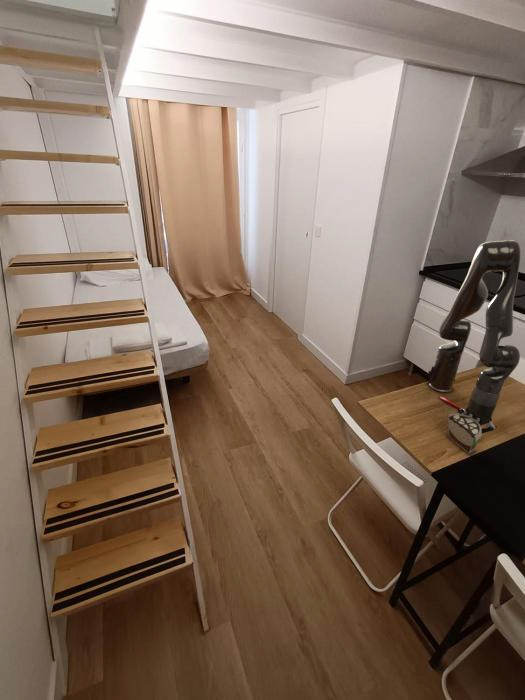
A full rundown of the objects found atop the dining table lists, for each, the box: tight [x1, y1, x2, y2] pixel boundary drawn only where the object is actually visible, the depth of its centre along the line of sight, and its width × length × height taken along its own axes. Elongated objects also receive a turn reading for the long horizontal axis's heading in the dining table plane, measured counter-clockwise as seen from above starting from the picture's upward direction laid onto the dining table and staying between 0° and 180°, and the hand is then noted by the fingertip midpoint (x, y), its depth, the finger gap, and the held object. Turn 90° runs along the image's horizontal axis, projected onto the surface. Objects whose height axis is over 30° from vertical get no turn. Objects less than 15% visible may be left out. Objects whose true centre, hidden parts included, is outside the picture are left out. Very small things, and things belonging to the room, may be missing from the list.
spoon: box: [439, 396, 463, 410], centre depth 139 cm, size 14×4×1 cm, turn 29°
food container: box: [446, 413, 483, 455], centre depth 117 cm, size 12×6×10 cm, turn 17°
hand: (469, 437), depth 120 cm, fingers closed
